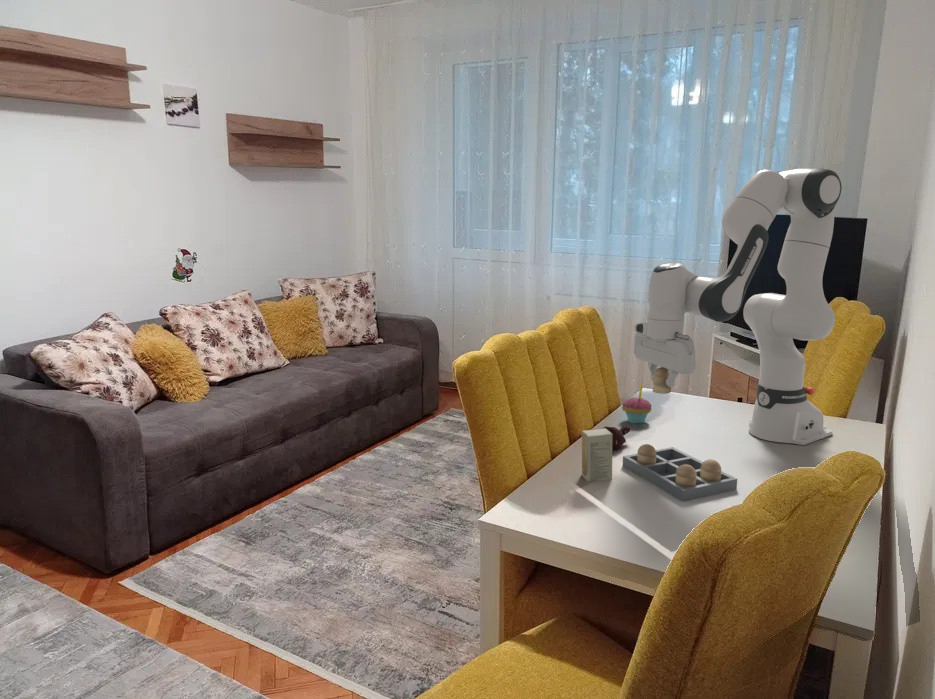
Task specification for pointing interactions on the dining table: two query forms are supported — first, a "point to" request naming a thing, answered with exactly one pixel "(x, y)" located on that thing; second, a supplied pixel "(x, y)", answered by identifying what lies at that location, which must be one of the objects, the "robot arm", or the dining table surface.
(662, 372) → the wooden egg
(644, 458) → the seated egg
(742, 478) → the dining table surface
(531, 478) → the dining table surface
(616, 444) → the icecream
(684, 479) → the seated egg
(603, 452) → the skincare box
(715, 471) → the seated egg
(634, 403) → the cupcake
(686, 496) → the egg carton
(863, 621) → the dining table surface
